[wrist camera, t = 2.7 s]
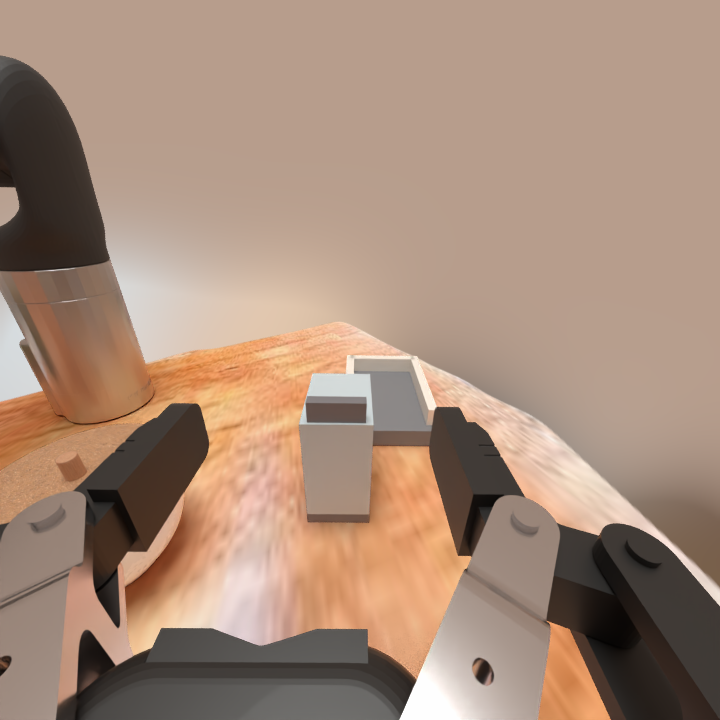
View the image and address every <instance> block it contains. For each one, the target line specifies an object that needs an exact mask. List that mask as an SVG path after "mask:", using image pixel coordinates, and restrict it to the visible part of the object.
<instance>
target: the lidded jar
mask: <svg viewBox="0 0 720 720" xmlns="http://www.w3.org/2000/svg"><path fill="white" fill-rule="evenodd" d="M142 425H144V424H116V425H110V426H104V427H99V428H94V429H90V430H87V431H83V432H80V433H77V434H74V435H71V436H68V437H65V438H62V439H59V440H57V441H55V442H52V443H50V444H48V445H45V446H43V447H41V448H39V449H37V450H35V451H33V452H31V453H29V454H27V455H25V456H23V457H22V458H20V459H18V460H16V461H15V462H13V463H11V464H10V465H8V466H7V467H5V468H3V469H2V470H0V525H1V524H5V523H9V522H11V520H12V519H13V518H14V517H16V516H17V515H18V514H19V513H20V512H22V511H23V510H24V509H26V508H27V507H29V506H30V505H32V504H34V503H36V502H38V501H40V500H42V499H44V498H46V497H49V496H51V495H54V494H57V493H62V492H68V491H73V490H74V489H75V488H76V487H78V486H79V485H80V484H81V483H82V482H83V481H84V480H85V479H86V478H87V477H88V476H89V475H90V474H91V473H92V472H93V471H94V470H95V469H96V468H97V467H98V466H99V465H100V464H101V463H102V462H103V461H104V460H105V459H106V458H107V457H108V456H109V455H110V454H111V453H115V450H116V449H117V448H118V447H119V446H120V445H121V444H122V443H123V442H125V440H126V439H127V438H128V437H129V436H130V435H131V434H132V433H133V432H134V431H135V430H136V429H137V428H139V427H140V426H142ZM183 506H184V493H183V495H182V496H181V498H180V500H179V501H178V503H177V504H176V506H175V508H174V509H173V511H172V512H171V514H170V516H169V517H168V519H167V520H166V522H165V523H164V525H163V527H162V528H161V530H160V531H159V533H158V535H157V536H156V538H155V539H154V541H153V543H152V544H151V546H150V547H149V549H148V551H147V552H127V554H126V555H125V556H124V558H123V559H122V561H121V564H122V566H123V569H124V584H125V587H126V586H127V585H129V584H131V583H132V582H133V581H135V580H136V579H137V578H139V577H140V576H141V575H142V574H143V573H144V572H145V571H146V570H147V569H148V568H149V567H150V566H151V565H152V564H153V563H154V562H155V560H156V559H157V558H158V556H159V555H160V554H161V553H162V552H163V550H164V549H165V548H166V546H167V545H168V544H169V542H170V540H171V538H172V537H173V535H174V533H175V531H176V529H177V527H178V524H179V522H180V519H181V515H182V510H183Z"/></svg>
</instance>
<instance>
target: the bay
mask: <svg viewBox="0 0 720 720" xmlns="http://www.w3.org/2000/svg"><path fill="white" fill-rule="evenodd" d="M354 371H392V372H410V374H411V377H412V380H413V384H414V387H415V390H416V393H417V396H418V400H419V403H420V406H421V409H422V412H423V416H424V419H425V422H426V425H432V423H433V416H434V410H435V408H436V407H437V406H436V403H435V401H434V398H433V396H432V393H431V391H430V388H429V386H428V383H427V381H426V378H425V375H424V373H423V370H422V368H421V365H420V363H419V360H418V358H417V356H361V355H347V367H346V374H354Z"/></svg>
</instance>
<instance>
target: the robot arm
mask: <svg viewBox="0 0 720 720" xmlns="http://www.w3.org/2000/svg"><path fill="white" fill-rule="evenodd" d="M0 187H15V188H16V191H17V195H18V200H19V206H20V207H19V210H18V212H17V214H16V215H15V216H14V217H13V218H12V219H11V220H10V221H9V222H8V223H6V224H4V225H3V226H0V291H1V293H2V295H3V297H4V299H5V300H6V302H7V304H8V305H9V308H10V310H11V312H12V313H13V316H14V318H15V319H16V322H17V323H18V325H19V327H20V329H21V331H22V333H23V335H24V337H25V339H23V340H21V341H20V344H19V345H20V348H21V349H22V351H23V353H24V355H25V357H26V359H27V361H28V363H29V365H30V366H31V368H32V370H33V372H34V374H35V376H36V378H37V380H38V382H39V383H40V385H41V387H42V389H43V391H44V393H45V395H46V397H47V399H48V400H49V402H50V404H51V406H52V408H53V410H54V412H55V414H56V415H63V416H65V417H66V418H67V420H69V421H71V422H75V423H97V422H102V421H107V420H111V419H114V418H118V417H120V416H123V415H126V414H128V413H130V412H132V411H134V410H136V409H138V408H140V407H141V406H143V405H144V404H145V403H147V402H148V401H149V400H150V399H151V398H152V396H153V394H154V388H153V385H152V382H151V379H150V376H149V373H148V370H147V367H146V364H145V361H144V358H143V355H142V352H141V349H140V346H139V343H138V340H137V337H136V334H135V331H134V328H133V326H132V322H131V319H130V316H129V314H128V311H127V308H126V305H125V302H124V299H123V296H122V293H121V290H120V287H119V284H118V281H117V278H116V275H115V272H114V269H113V266H112V263H111V260H110V257H109V254H108V251H107V248H106V242H105V230H104V224H103V220H102V217H101V213H100V209H99V206H98V203H97V199H96V195H95V192H94V188H93V184H92V181H91V177H90V173H89V169H88V166H87V162H86V158H85V154H84V152H83V148H82V144H81V141H80V138H79V135H78V133H77V130H76V127H75V125H74V123H73V121H72V118H71V116H70V115H69V112H68V110H67V109H66V107H65V105H64V103H63V102H62V100H61V99H60V97H59V96H58V94H57V93H56V91H55V90H54V89H53V87H52V86H51V85H50V84H49V83H48V82H47V81H46V79H44V77H43V76H41V75H40V74H39V73H38V72H37V71H35V70H34V69H33V68H31V67H30V66H29V65H27V64H25V63H23V62H21V61H19V60H16V59H13V58H9V57H5V56H0ZM208 449H209V439H208V435H207V431H206V427H205V423H204V420H203V416H202V412H201V408H200V406H199V405H198V404H189V403H173V404H170V405H169V406H168V407H167V408H166V409H165V410H164V411H163V412H162V413H161V414H160V415H159V416H158V417H157V418H154V419H152V420H150V421H149V422H147V423H145V424H144V425H142V426H140V427H139V428H137V429H136V430H135V431H134V432H133V433H132V434H131V435H130V436H129V437H128V438H127V439H126V440H125V442H123V443H122V444H121V445H120V446H119V447H118V448H117V449H116V450H115V453H111V454H110V455H109V456H108V457H107V458H106V459H105V460H104V461H103V462H102V463H101V464H100V465H99V466H98V467H97V468H96V469H95V470H94V471H93V472H92V473H91V474H90V475H89V476H88V477H87V478H86V479H85V480H84V481H83V482H82V483H81V484H80V485H79V486H78V487H76V488H75V489H74V490H73V491H68V492H62V493H57V494H54V495H51V496H49V497H46V498H44V499H42V500H40V501H38V502H36V503H34V504H32V505H30V506H29V507H27V508H26V509H24V510H23V511H22V512H20V513H19V514H18V515H17V516H16V517H14V518H13V519H12V520H11V522H9V523H5V524H1V525H0V720H538V714H539V708H540V701H541V695H542V688H543V682H544V675H545V669H546V662H547V656H548V649H549V642H550V624H549V623H548V622H547V621H549V622H552V623H555V624H557V625H560V626H563V627H565V628H568V629H570V631H571V633H572V635H573V637H574V639H575V642H576V644H577V646H578V648H579V650H580V653H581V655H582V657H583V659H584V661H585V664H586V666H587V668H588V670H589V672H590V675H591V677H592V679H593V681H594V683H595V686H596V688H597V690H598V692H599V694H600V697H601V699H602V701H603V703H604V705H605V707H606V710H607V712H608V714H609V716H610V718H611V720H720V606H719V605H718V604H717V603H716V601H715V600H714V599H713V598H712V597H711V596H710V594H709V593H708V592H707V591H706V590H705V589H704V588H703V586H702V585H701V584H700V583H699V582H698V581H697V579H696V578H695V577H694V576H693V575H692V574H691V572H690V571H689V570H688V569H687V568H686V567H685V565H684V564H683V563H682V562H681V561H680V560H679V559H678V557H677V556H676V555H675V554H674V553H673V552H672V551H671V550H670V549H669V548H668V547H667V546H665V545H664V544H663V543H662V542H660V541H659V540H658V539H656V538H655V537H653V536H651V535H650V534H648V533H646V532H644V531H642V530H640V529H638V528H635V527H632V526H629V525H625V524H619V523H617V524H609V525H607V526H605V527H604V528H603V529H602V531H601V533H600V535H599V536H598V535H594V534H591V533H587V532H584V531H580V530H577V529H573V528H570V527H566V526H563V525H560V524H558V523H556V521H555V520H554V518H553V517H552V516H551V514H550V513H549V512H548V511H547V510H546V509H544V508H543V507H542V506H540V505H539V504H537V503H536V502H534V501H532V500H530V499H527V498H525V496H524V494H523V493H522V491H521V489H520V488H519V486H518V484H517V482H516V481H515V479H514V477H513V476H512V474H511V472H510V470H509V469H508V467H507V465H506V464H505V462H504V460H503V458H502V457H500V453H499V451H498V450H497V448H496V447H495V446H494V443H493V441H492V439H491V438H490V436H489V434H488V433H487V432H486V431H485V430H484V429H483V428H481V427H480V426H479V425H478V424H477V423H476V422H467V421H466V419H465V417H464V415H463V413H462V411H461V410H460V408H459V407H436V408H435V410H434V416H433V423H432V430H431V436H430V444H429V451H430V459H431V463H432V467H433V470H434V474H435V477H436V481H437V484H438V488H439V491H440V495H441V498H442V502H443V505H444V509H445V512H446V516H447V519H448V523H449V526H450V530H451V533H452V537H453V540H454V543H455V547H456V550H457V554H458V556H471V557H472V558H471V561H470V563H469V565H468V567H467V569H465V570H464V572H463V574H462V576H461V578H460V580H459V583H458V585H457V587H456V590H455V592H454V594H453V597H452V599H451V601H450V604H449V606H448V608H447V611H446V613H445V615H444V618H443V620H442V622H441V625H440V627H439V630H438V632H437V634H436V637H435V639H434V641H433V644H432V646H431V648H430V651H429V653H428V655H427V658H426V660H425V662H424V665H423V667H422V669H421V672H420V674H419V676H418V679H417V680H416V679H415V677H414V676H413V675H412V674H411V673H410V672H408V671H407V670H406V669H405V668H404V667H403V666H402V665H401V664H400V663H398V662H397V661H396V660H394V659H393V658H391V657H390V656H388V655H386V654H384V653H383V652H381V651H379V650H377V649H374V648H372V647H369V646H368V630H367V629H316V630H312V631H309V632H306V633H303V634H300V635H296V636H293V637H290V638H287V639H284V640H281V641H277V642H274V643H271V644H268V645H264V646H258V645H255V644H252V643H249V642H247V641H244V640H241V639H239V638H236V637H234V636H231V635H228V634H226V633H223V632H220V631H218V630H215V629H212V628H161V630H160V632H159V634H158V636H157V639H156V641H155V643H154V645H153V647H152V648H151V649H148V650H146V651H144V652H141V653H139V654H137V655H134V656H133V653H132V650H131V647H130V643H129V639H128V631H127V616H126V600H125V584H124V569H123V566H122V564H121V561H122V559H123V558H124V556H125V555H126V554H127V552H147V551H148V549H149V547H150V546H151V544H152V543H153V541H154V539H155V538H156V536H157V535H158V533H159V531H160V530H161V528H162V527H163V525H164V523H165V522H166V520H167V519H168V517H169V516H170V514H171V512H172V511H173V509H174V508H175V506H176V504H177V503H178V501H179V500H180V498H181V496H182V495H183V493H184V492H185V490H186V488H187V487H188V485H189V484H190V482H191V480H192V479H193V477H194V476H195V474H196V472H197V471H198V469H199V468H200V466H201V464H202V463H203V461H204V460H205V458H206V456H207V453H208Z"/></svg>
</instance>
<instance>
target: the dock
mask: <svg viewBox="0 0 720 720" xmlns="http://www.w3.org/2000/svg"><path fill="white" fill-rule="evenodd" d="M354 374H370V381H371V395H372V410H373V424H374V427H373V445H395V446H429V444H430V436H431V430H432V425H426V422H425V419H424V416H423V412H422V409H421V406H420V403H419V400H418V396H417V393H416V390H415V387H414V384H413V380H412V377H411V374H410V372H392V371H354Z"/></svg>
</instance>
